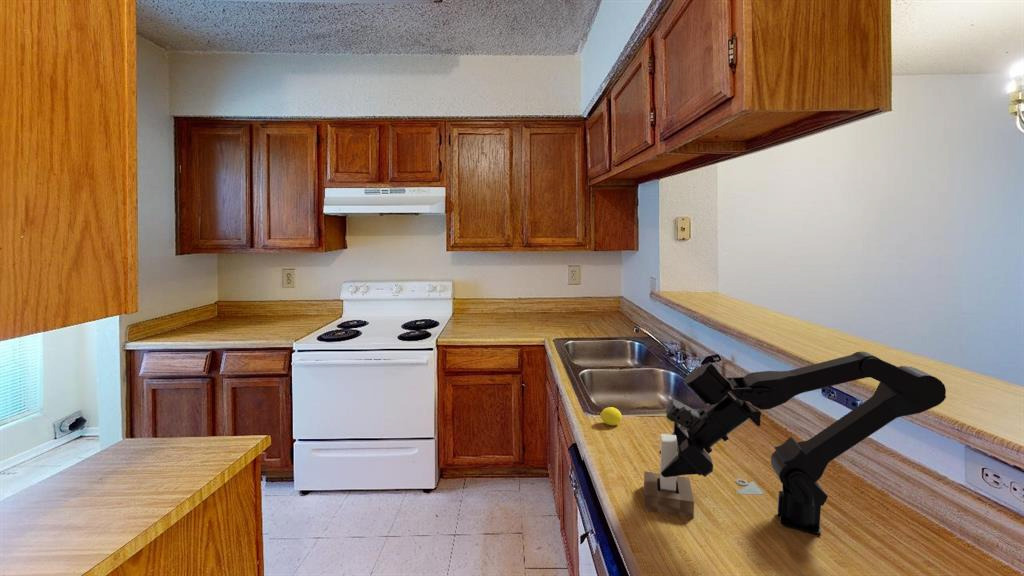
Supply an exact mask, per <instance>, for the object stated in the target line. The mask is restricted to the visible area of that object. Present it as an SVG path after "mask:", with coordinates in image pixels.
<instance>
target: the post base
mask: <svg viewBox="0 0 1024 576" xmlns="http://www.w3.org/2000/svg"><path fill="white" fill-rule="evenodd" d="M643 472H644V473H643V474H644V475H643V511H647V512H652V513H659V514H663V515H664V514H665V515H669V516H670V515H671V516H675V517H676V516H677V517H683V518H689V519H694V517H695V514H694V513H695V499H694V494H693V488H692V485H691V484H692V483H691V479H690V477H686V476H682V475H680V476H676V493H670V492H663V491H659V488H660V472H651V471H646V470H645V471H643Z"/></svg>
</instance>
